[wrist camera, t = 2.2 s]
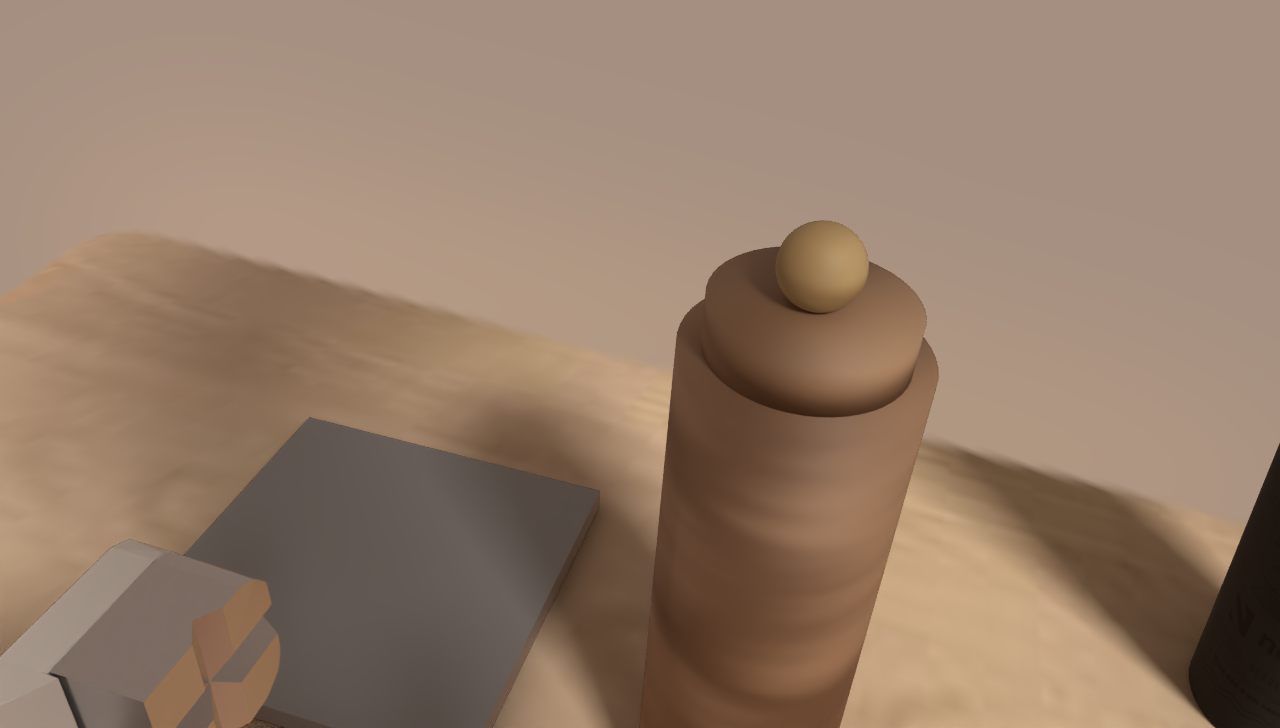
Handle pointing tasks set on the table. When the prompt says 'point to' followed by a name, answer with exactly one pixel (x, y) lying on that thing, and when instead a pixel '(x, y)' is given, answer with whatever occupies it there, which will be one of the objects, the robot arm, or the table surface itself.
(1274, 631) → the drinking cup
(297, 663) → the trivet
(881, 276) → the pepper mill
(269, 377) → the table surface
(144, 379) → the table surface
